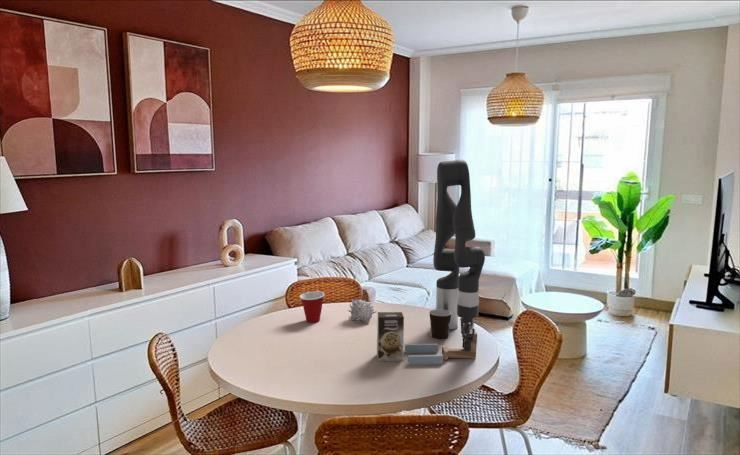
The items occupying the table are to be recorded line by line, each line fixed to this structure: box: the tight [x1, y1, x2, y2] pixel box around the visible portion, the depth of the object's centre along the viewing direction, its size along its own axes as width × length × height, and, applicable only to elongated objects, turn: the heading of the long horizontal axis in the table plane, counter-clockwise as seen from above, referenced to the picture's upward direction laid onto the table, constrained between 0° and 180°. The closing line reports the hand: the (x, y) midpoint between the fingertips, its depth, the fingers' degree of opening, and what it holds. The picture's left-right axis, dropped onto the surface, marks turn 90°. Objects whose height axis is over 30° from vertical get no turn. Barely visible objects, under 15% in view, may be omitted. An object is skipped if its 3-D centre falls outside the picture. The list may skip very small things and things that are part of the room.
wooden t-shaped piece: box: [441, 331, 478, 360], centre depth 184 cm, size 6×12×9 cm, turn 91°
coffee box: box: [376, 311, 405, 362], centre depth 184 cm, size 9×6×16 cm
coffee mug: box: [428, 308, 451, 341], centre depth 206 cm, size 12×9×10 cm
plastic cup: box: [299, 290, 325, 324], centre depth 224 cm, size 11×11×12 cm
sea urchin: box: [347, 298, 378, 323], centre depth 224 cm, size 12×11×12 cm
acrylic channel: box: [404, 343, 444, 366], centre depth 184 cm, size 12×12×3 cm
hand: (466, 349), depth 185 cm, fingers closed on wooden t-shaped piece, 2 cm apart
